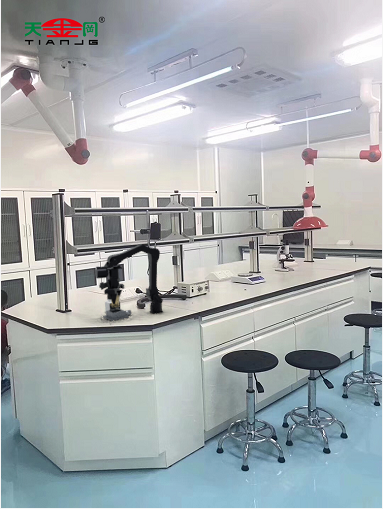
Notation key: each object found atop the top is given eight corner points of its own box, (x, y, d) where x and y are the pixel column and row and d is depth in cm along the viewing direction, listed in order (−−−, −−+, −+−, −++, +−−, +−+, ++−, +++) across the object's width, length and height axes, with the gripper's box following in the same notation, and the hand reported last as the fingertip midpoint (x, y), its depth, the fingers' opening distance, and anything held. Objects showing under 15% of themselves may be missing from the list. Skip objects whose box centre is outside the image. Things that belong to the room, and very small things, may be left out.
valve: (117, 305, 241) (116, 292, 240) (120, 306, 237) (119, 293, 237) (110, 306, 238) (109, 293, 238) (113, 307, 235) (113, 294, 234)
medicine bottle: (110, 314, 248) (109, 295, 247) (105, 312, 253) (104, 293, 252) (120, 312, 252) (119, 293, 251) (115, 310, 258) (114, 291, 256)
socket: (125, 313, 249) (125, 306, 248) (134, 316, 240) (134, 309, 239) (103, 317, 240) (102, 310, 239) (111, 321, 231) (111, 314, 230)
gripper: (106, 274, 247) (107, 299, 248) (94, 279, 228) (96, 306, 230) (124, 274, 245) (125, 299, 246) (113, 279, 227) (115, 306, 228)
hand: (115, 303), depth 238 cm, fingers closed on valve, 4 cm apart
